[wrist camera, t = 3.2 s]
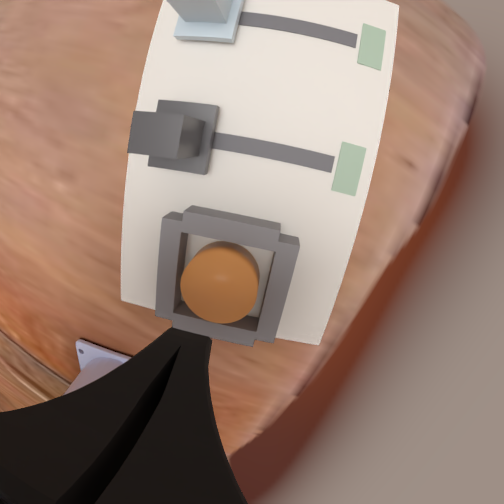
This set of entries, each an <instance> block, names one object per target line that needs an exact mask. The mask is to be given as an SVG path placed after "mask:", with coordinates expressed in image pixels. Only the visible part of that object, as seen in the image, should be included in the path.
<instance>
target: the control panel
mask: <svg viewBox="0 0 504 504" xmlns="http://www.w3.org/2000/svg"><path fill="white" fill-rule="evenodd" d="M398 13H399V5H396V4H394V3H391V2H388V1H386V0H244V4H243V8H242V11H241V15H240V19H239V23H238V27H237V31H236V35H235V39H234V43H229V42H217V41H203V40H177V39H176V38H175V37H174V36H173V35H174V31H175V27H176V24H177V20H178V17H179V14H178V13H177V12H176V11H175V10H174V8H173V7H172V6H171V5H170V4H169V3H168V2H167V1H166V0H163V3H162V6H161V9H160V12H159V16H158V19H157V22H156V26H155V29H154V33H153V36H152V40H151V44H150V47H149V51H148V55H147V59H146V64H145V68H144V72H143V77H142V81H141V86H140V91H139V96H138V101H137V106H136V111H146V112H156V109H157V104H158V100H172V101H184V102H194V103H203V104H211V105H217V106H219V107H220V108H219V113H218V118H217V123H216V128H215V133H214V139H213V144H212V150H211V155H210V161H209V167H208V173H207V174H206V175H201V174H195V173H189V172H183V171H176V170H170V169H163V168H156V167H149V166H148V159H149V155H141V154H133V153H129V158H128V166H127V175H126V185H125V195H124V208H123V223H122V244H121V300H122V301H125V302H129V303H132V304H136V305H139V306H143V307H146V308H150V309H154V310H155V316H158V317H161V318H165V319H169V320H172V321H173V322H172V327H173V328H176V329H180V330H184V331H188V332H192V333H196V334H200V335H204V336H208V337H210V338H214V339H218V340H223V341H227V342H232V343H236V344H241V345H246V346H251V347H253V344H254V340H259V341H264V342H269V343H274V340H275V338H280V339H285V340H291V341H297V342H302V343H308V344H314V345H319V344H320V341H321V339H322V336H323V333H324V331H325V328H326V325H327V323H328V320H329V317H330V314H331V312H332V309H333V306H334V303H335V300H336V297H337V294H338V291H339V288H340V285H341V282H342V279H343V276H344V273H345V270H346V267H347V264H348V261H349V257H350V254H351V251H352V248H353V244H354V241H355V238H356V234H357V231H358V227H359V224H360V220H361V216H362V213H363V209H364V205H365V201H366V198H367V194H368V190H369V186H370V182H371V178H372V173H373V169H374V165H375V160H376V156H377V151H378V147H379V142H380V137H381V132H382V127H383V122H384V117H385V111H386V106H387V100H388V94H389V88H390V81H391V75H392V68H393V60H394V52H395V44H396V35H397V24H398ZM217 241H226V242H231V243H236V244H238V245H240V246H242V247H244V248H245V249H246V250H248V251H249V252H250V253H251V254H252V256H253V257H254V258H255V260H256V262H257V264H258V267H259V272H260V279H259V286H258V292H257V298H256V302H255V304H254V306H253V308H252V310H251V311H250V312H249V313H248V314H247V315H246V316H245V317H243V318H242V319H240V320H238V321H235V322H231V323H214V322H210V321H207V320H204V319H202V318H201V317H199V316H198V315H196V314H195V313H194V312H193V311H192V310H191V309H190V308H189V307H188V306H187V304H186V303H185V301H184V299H183V296H182V293H181V287H180V283H181V277H182V274H183V272H184V270H185V268H186V267H187V265H188V264H189V263H190V261H191V260H192V259H193V257H194V256H195V255H196V253H197V252H198V251H199V250H200V249H201V248H202V247H204V246H205V245H207V244H210V243H212V242H217Z"/></svg>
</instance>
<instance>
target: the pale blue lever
mask: <svg viewBox="0 0 504 504" xmlns="http://www.w3.org/2000/svg"><path fill="white" fill-rule="evenodd" d="M166 1H167V2H168V3H169V4H170V5H171V6H172V7H173V8H174V10H175V11H176V12H177V13H178V14H179V17H178V20H177V24H176V27H175V31H174V35H173V36H174V37H175V38H176V39H177V40H203V41H217V42H229V43H234V39H235V35H236V31H237V27H238V23H239V19H240V15H241V11H242V8H243V4H244V0H166Z"/></svg>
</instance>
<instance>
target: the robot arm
mask: <svg viewBox="0 0 504 504" xmlns="http://www.w3.org/2000/svg"><path fill="white" fill-rule="evenodd" d="M211 344H212V340H211V338H210V337H208V336H204V335H200V334H196V333H192V332H188V331H184V330H180V329H176V328H173V327H171V328H170V329H168V330H167V331H166V332H164V333H163V334H162V335H161V336H159V337H158V338H157V339H156V340H154V341H153V342H152V343H151V344H149V345H148V346H147V347H145V348H144V349H143V350H141V351H140V352H139V353H137V354H136V355H135V356H133V357H129V356H126V355H123V354H120V353H117V352H114V351H111V350H108V349H106V348H103V347H100V346H97V345H95V344H92V343H89V342H87V341H84V340H82V339H78V340H77V342H76V349H77V354H78V359H79V364H80V369H81V372H80V373H79V375H78V376H77V377H76V379H75V380H74V381H73V382H72V384H71V385H70V386H69V388H68V389H67V390H66V392H65V393H64V394H63V396H60V397H58V398H55V399H52V400H49V401H47V402H44V403H40V404H36V405H33V406H29V407H25V408H21V409H17V410H12V411H7V412H0V504H248V503H247V501H246V499H245V497H244V496H243V494H242V492H241V490H240V488H239V486H238V484H237V481H236V479H235V477H234V474H233V472H232V469H231V467H230V464H229V462H228V460H227V457H226V454H225V452H224V449H223V446H222V442H221V439H220V436H219V432H218V429H217V425H216V421H215V417H214V412H213V407H212V401H211V395H210V386H209V374H208V364H209V357H210V351H211Z"/></svg>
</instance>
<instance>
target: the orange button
mask: <svg viewBox="0 0 504 504" xmlns="http://www.w3.org/2000/svg"><path fill="white" fill-rule="evenodd" d="M259 279H260V272H259V267H258V264H257V262H256V260H255V258H254V257H253V256H252V254H251V253H250V252H249V251H248V250H246V249H245V248H244V247H242V246H240V245H238V244H236V243H231V242H226V241H217V242H212V243H210V244H207V245H205V246H204V247H202V248H201V249H200V250H199V251H198V252H197V253H196V255H195V256H194V257H193V259H192V260H191V261H190V263H189V264H188V265H187V267H186V268H185V270H184V272H183V274H182V277H181V283H180V287H181V293H182V296H183V299H184V301H185V303H186V304H187V306H188V307H189V308H190V309H191V310H192V311H193V312H194V313H195V314H196V315H198V316H199V317H201V318H202V319H204V320H207V321H210V322H214V323H231V322H235V321H238V320H240V319H242V318H243V317H245V316H246V315H247V314H248V313H249V312H250V311H251V310H252V308H253V306H254V304H255V302H256V298H257V292H258V286H259Z"/></svg>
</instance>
